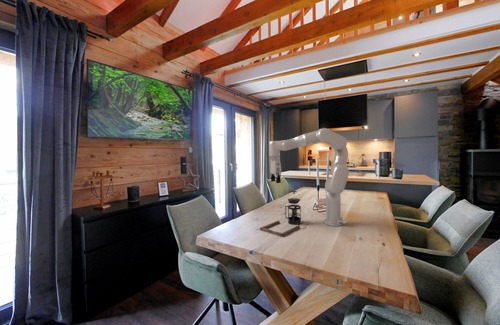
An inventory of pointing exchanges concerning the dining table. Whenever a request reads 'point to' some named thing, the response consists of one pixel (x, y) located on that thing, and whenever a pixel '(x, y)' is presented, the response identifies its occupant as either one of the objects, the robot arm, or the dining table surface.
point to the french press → (293, 211)
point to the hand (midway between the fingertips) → (275, 182)
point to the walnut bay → (277, 232)
